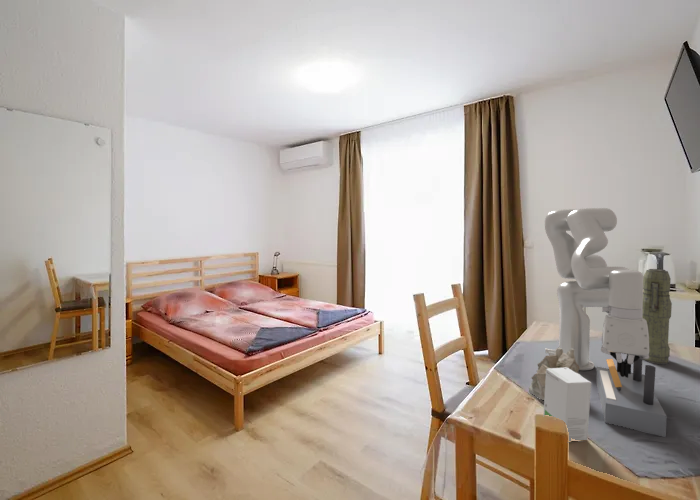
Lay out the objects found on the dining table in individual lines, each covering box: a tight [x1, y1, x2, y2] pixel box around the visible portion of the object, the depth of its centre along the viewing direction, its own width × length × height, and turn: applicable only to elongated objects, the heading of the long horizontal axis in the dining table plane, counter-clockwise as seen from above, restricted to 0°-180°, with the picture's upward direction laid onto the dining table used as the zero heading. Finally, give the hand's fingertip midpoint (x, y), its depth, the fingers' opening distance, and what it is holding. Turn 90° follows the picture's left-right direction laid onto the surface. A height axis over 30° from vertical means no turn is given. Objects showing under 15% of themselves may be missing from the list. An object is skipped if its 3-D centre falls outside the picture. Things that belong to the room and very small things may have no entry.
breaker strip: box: [595, 366, 668, 438], centre depth 96 cm, size 12×26×6 cm, turn 147°
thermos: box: [642, 268, 673, 365], centre depth 126 cm, size 9×12×35 cm
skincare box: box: [543, 367, 592, 441], centre depth 84 cm, size 8×7×16 cm
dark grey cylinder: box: [632, 359, 643, 382], centre depth 100 cm, size 2×2×10 cm
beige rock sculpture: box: [528, 347, 580, 401], centre depth 106 cm, size 16×16×15 cm
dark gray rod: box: [643, 364, 657, 405], centre depth 87 cm, size 2×2×10 cm
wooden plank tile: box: [605, 358, 622, 391], centre depth 97 cm, size 2×6×7 cm, turn 146°
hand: (623, 375), depth 95 cm, fingers closed
